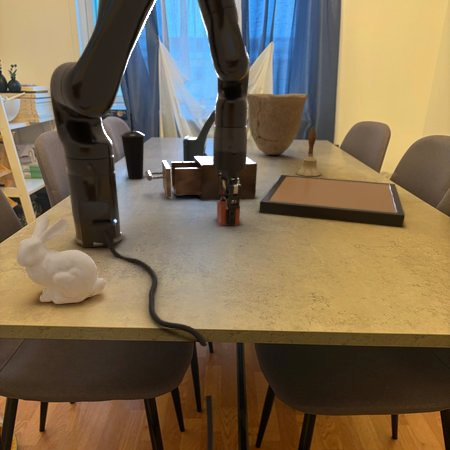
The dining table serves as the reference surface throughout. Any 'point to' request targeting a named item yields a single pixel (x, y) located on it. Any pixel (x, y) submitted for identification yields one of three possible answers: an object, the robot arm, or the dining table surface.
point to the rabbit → (58, 266)
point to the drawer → (179, 178)
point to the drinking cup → (133, 152)
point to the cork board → (334, 200)
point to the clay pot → (275, 120)
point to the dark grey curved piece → (197, 141)
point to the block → (222, 213)
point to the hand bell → (310, 158)
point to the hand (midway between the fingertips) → (228, 220)
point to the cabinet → (211, 179)
